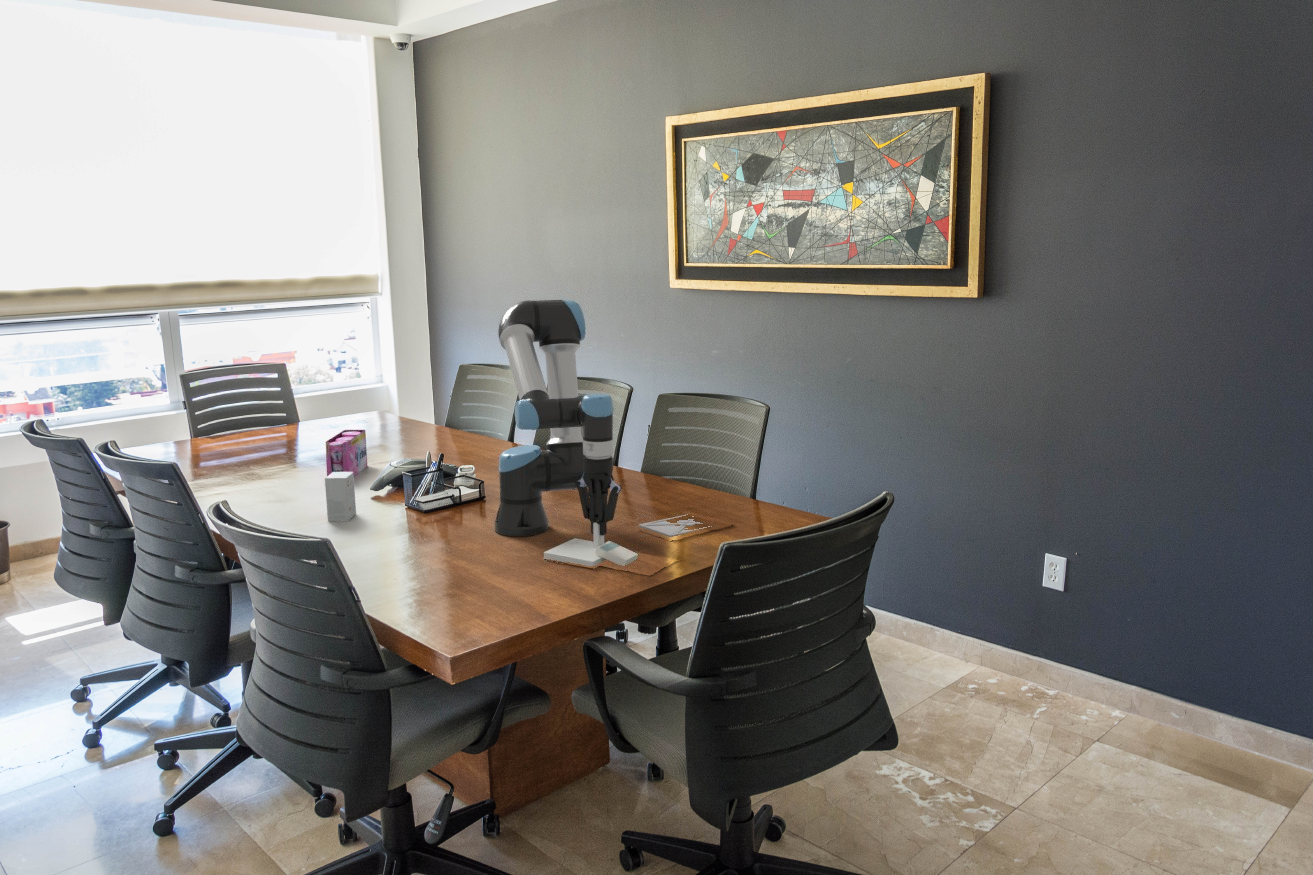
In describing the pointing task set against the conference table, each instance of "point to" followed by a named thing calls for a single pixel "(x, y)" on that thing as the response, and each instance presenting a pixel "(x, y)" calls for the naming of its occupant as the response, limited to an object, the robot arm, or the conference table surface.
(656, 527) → the envelope
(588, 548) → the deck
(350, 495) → the small box
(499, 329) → the robot arm
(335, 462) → the gum box
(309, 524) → the conference table surface
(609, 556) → the card
